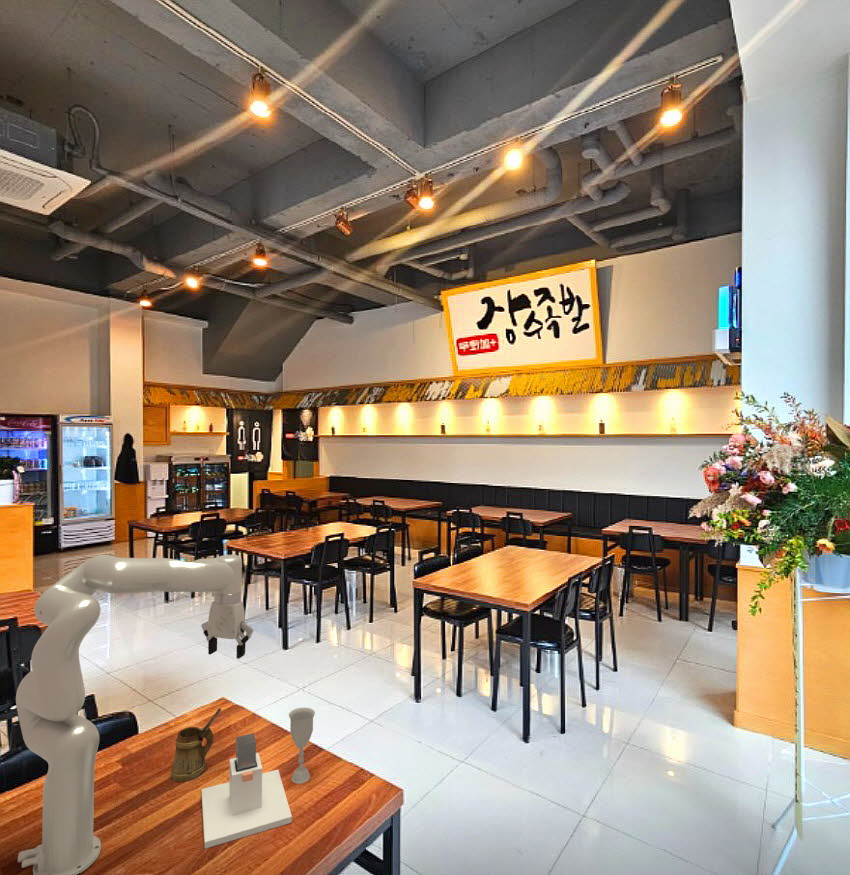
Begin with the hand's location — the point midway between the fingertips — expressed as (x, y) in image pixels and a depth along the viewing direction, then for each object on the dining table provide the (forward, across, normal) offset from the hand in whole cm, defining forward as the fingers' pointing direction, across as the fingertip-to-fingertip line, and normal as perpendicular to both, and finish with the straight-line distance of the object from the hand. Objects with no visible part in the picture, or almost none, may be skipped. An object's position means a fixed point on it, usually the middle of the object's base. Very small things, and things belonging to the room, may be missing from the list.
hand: (226, 654), depth 154 cm
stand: (+31, +18, -16) cm, 39 cm away
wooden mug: (+31, -4, -7) cm, 32 cm away
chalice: (+31, +26, -1) cm, 41 cm away
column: (+29, +18, -16) cm, 38 cm away
